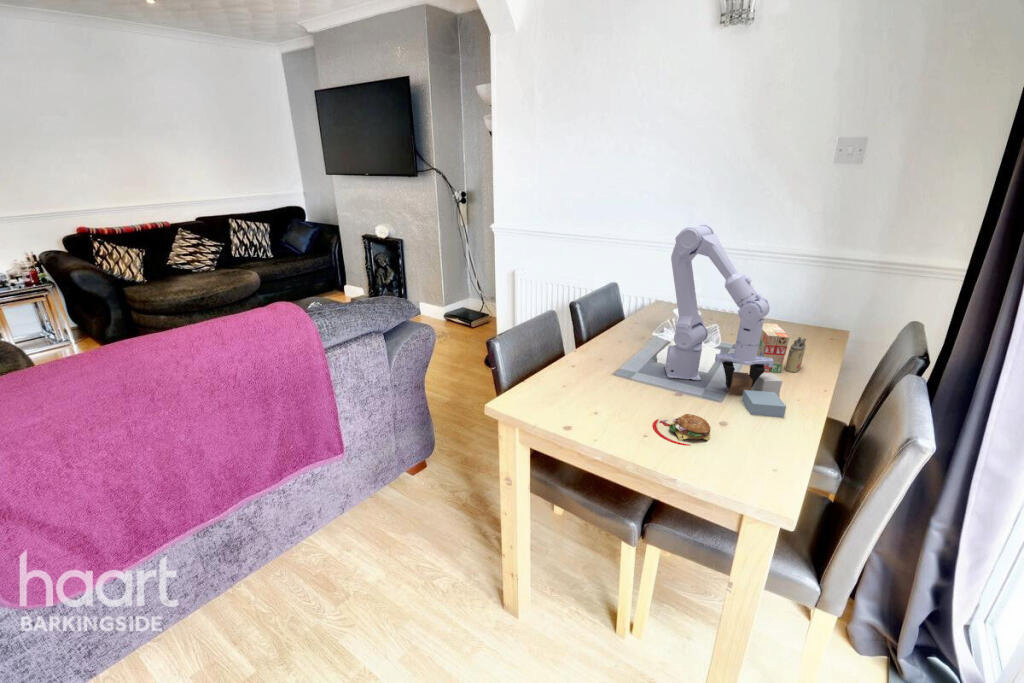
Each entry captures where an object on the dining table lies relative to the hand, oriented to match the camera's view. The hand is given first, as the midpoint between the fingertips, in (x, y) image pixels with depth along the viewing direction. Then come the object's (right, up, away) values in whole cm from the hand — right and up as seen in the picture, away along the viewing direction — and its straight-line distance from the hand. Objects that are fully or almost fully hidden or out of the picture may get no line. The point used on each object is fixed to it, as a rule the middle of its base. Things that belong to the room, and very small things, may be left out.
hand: (738, 387), depth 135 cm
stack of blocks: (+18, +7, +24) cm, 31 cm away
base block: (+2, -5, -8) cm, 10 cm away
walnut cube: (0, -1, +1) cm, 1 cm away
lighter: (+25, +4, +17) cm, 30 cm away
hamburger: (-23, -9, -19) cm, 31 cm away
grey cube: (+8, -2, 0) cm, 8 cm away
